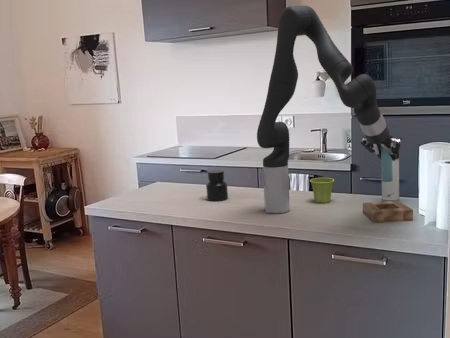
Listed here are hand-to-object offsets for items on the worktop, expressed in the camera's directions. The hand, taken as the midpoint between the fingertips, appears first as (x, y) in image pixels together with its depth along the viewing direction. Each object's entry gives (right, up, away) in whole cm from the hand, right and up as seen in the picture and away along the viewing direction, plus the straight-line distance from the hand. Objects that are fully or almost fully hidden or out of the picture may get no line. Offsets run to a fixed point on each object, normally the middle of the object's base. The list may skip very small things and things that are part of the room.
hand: (388, 158), depth 166 cm
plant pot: (-17, -17, +28) cm, 37 cm away
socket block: (0, -20, +2) cm, 20 cm away
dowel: (-1, -8, 0) cm, 8 cm away
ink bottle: (-59, -17, +43) cm, 75 cm away
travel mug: (+8, -16, +22) cm, 28 cm away
